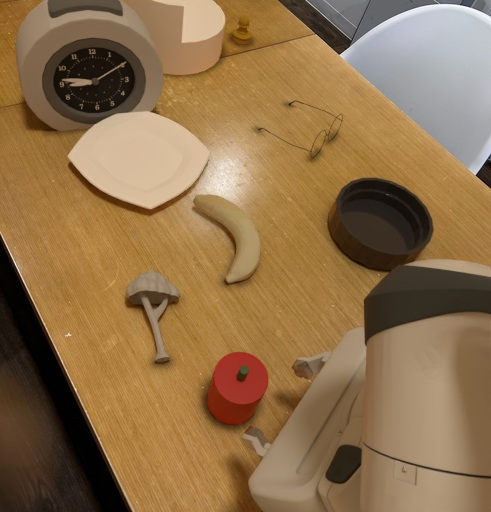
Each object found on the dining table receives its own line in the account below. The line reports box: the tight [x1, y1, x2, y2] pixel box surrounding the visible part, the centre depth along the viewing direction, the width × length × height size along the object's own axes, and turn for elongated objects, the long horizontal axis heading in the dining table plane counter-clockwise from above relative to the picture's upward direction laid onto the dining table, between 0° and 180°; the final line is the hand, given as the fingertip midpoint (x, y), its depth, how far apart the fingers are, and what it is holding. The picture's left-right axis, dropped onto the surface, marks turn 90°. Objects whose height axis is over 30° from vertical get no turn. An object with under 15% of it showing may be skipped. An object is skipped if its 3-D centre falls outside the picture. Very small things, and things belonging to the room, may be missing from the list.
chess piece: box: [231, 15, 252, 46], centre depth 103 cm, size 4×4×5 cm
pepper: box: [206, 351, 269, 426], centre depth 56 cm, size 6×6×9 cm
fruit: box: [192, 193, 262, 284], centre depth 72 cm, size 7×15×3 cm, turn 22°
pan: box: [328, 177, 435, 271], centre depth 77 cm, size 15×15×4 cm
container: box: [121, 0, 226, 76], centre depth 94 cm, size 20×20×13 cm
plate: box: [67, 111, 212, 211], centre depth 78 cm, size 19×19×2 cm
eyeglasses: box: [257, 100, 344, 159], centre depth 88 cm, size 11×13×5 cm
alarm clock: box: [14, 0, 165, 132], centre depth 76 cm, size 21×8×20 cm, turn 110°
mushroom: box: [125, 269, 181, 363], centre depth 62 cm, size 7×5×12 cm
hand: (273, 399), depth 51 cm, fingers open, 8 cm apart
